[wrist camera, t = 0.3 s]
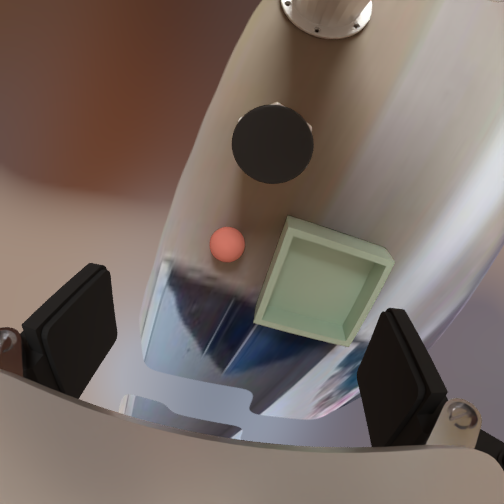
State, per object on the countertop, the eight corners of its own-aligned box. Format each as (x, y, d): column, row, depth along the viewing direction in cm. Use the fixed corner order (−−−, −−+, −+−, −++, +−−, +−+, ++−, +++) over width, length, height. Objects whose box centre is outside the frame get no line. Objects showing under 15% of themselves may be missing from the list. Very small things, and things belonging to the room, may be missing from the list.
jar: (257, 177, 43) (248, 198, 32) (232, 124, 40) (214, 127, 29) (317, 152, 41) (330, 165, 30) (292, 98, 38) (297, 90, 27)
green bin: (287, 215, 45) (288, 226, 40) (385, 247, 45) (395, 261, 41) (255, 304, 51) (253, 322, 47) (344, 328, 52) (348, 347, 47)
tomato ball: (217, 218, 46) (210, 229, 41) (250, 227, 46) (247, 240, 42) (210, 247, 48) (202, 262, 43) (241, 257, 48) (237, 272, 44)
